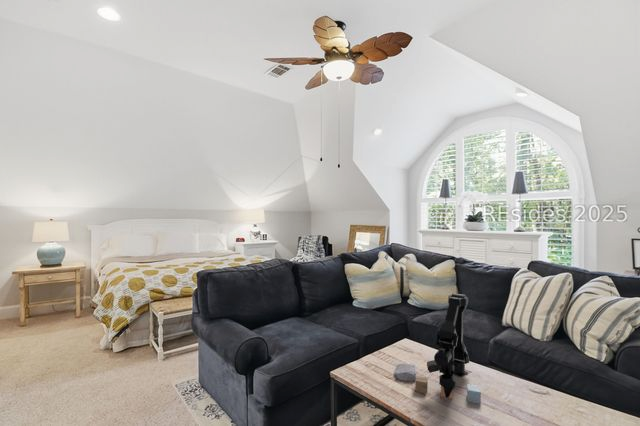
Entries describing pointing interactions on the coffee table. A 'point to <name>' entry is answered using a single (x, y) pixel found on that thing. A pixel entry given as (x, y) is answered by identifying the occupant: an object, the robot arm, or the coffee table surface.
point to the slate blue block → (473, 394)
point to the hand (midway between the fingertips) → (446, 391)
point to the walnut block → (421, 384)
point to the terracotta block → (444, 393)
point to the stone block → (405, 372)
